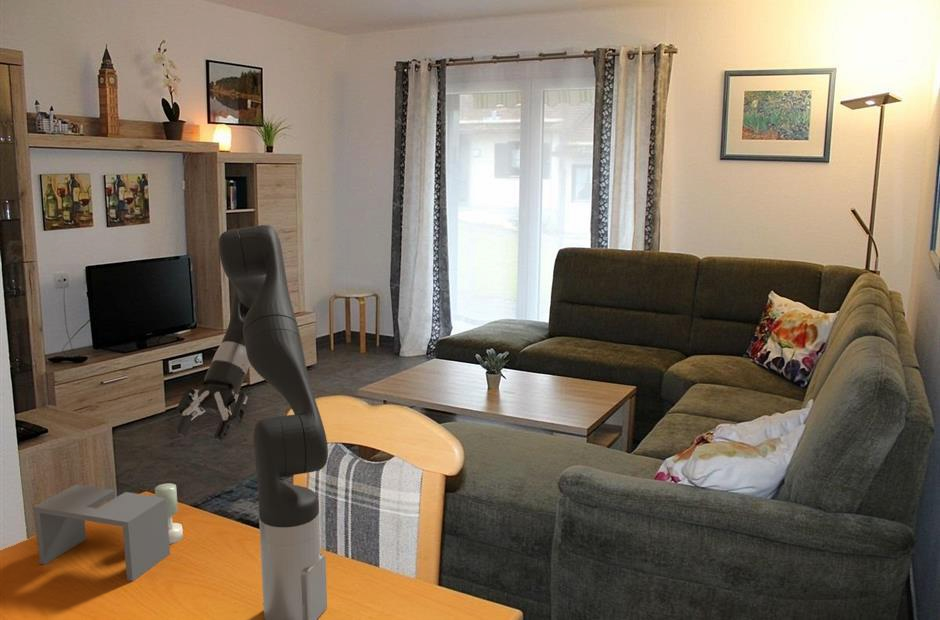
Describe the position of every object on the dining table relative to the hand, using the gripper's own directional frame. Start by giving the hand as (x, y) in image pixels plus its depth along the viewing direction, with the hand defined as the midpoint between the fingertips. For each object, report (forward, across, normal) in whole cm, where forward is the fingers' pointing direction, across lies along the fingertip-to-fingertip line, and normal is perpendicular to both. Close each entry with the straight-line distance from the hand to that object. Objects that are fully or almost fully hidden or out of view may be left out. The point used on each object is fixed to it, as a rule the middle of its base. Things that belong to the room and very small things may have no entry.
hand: (199, 437), depth 160 cm
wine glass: (+20, 0, +4) cm, 20 cm away
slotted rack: (+27, -6, -4) cm, 28 cm away
